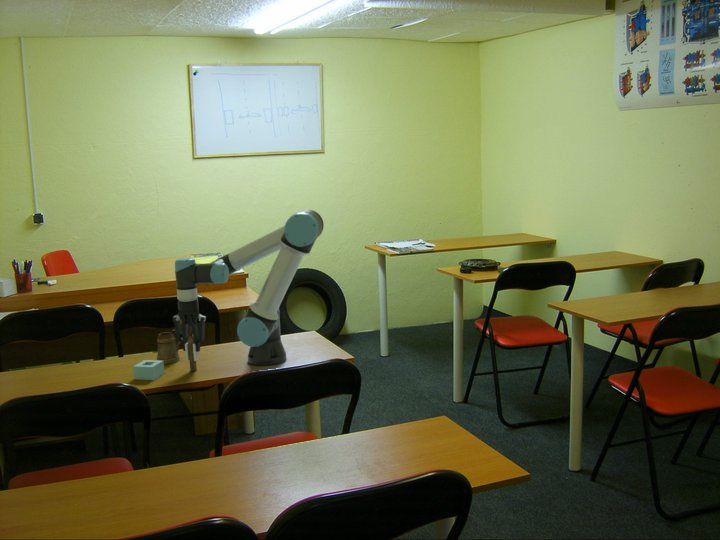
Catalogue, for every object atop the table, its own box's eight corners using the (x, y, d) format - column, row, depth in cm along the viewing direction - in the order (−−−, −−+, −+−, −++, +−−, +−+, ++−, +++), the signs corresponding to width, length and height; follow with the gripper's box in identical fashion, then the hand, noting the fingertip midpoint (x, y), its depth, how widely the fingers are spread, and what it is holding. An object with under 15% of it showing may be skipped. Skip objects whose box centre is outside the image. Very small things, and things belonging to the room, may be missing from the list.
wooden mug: (193, 358, 282) (190, 315, 279) (160, 365, 274) (157, 321, 271) (185, 353, 289) (182, 311, 286) (153, 360, 282) (149, 317, 278)
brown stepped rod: (197, 369, 267) (194, 325, 264) (195, 371, 264) (191, 327, 262) (192, 369, 267) (188, 325, 264) (189, 371, 265) (185, 327, 262)
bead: (164, 373, 264) (163, 360, 263) (154, 380, 257) (152, 367, 256) (145, 372, 266) (144, 359, 265) (134, 379, 258) (133, 366, 257)
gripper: (211, 297, 263) (215, 357, 267) (173, 296, 266) (178, 356, 270) (202, 301, 256) (207, 363, 260) (163, 301, 259) (169, 361, 263)
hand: (192, 359), depth 265 cm, fingers open, 3 cm apart
